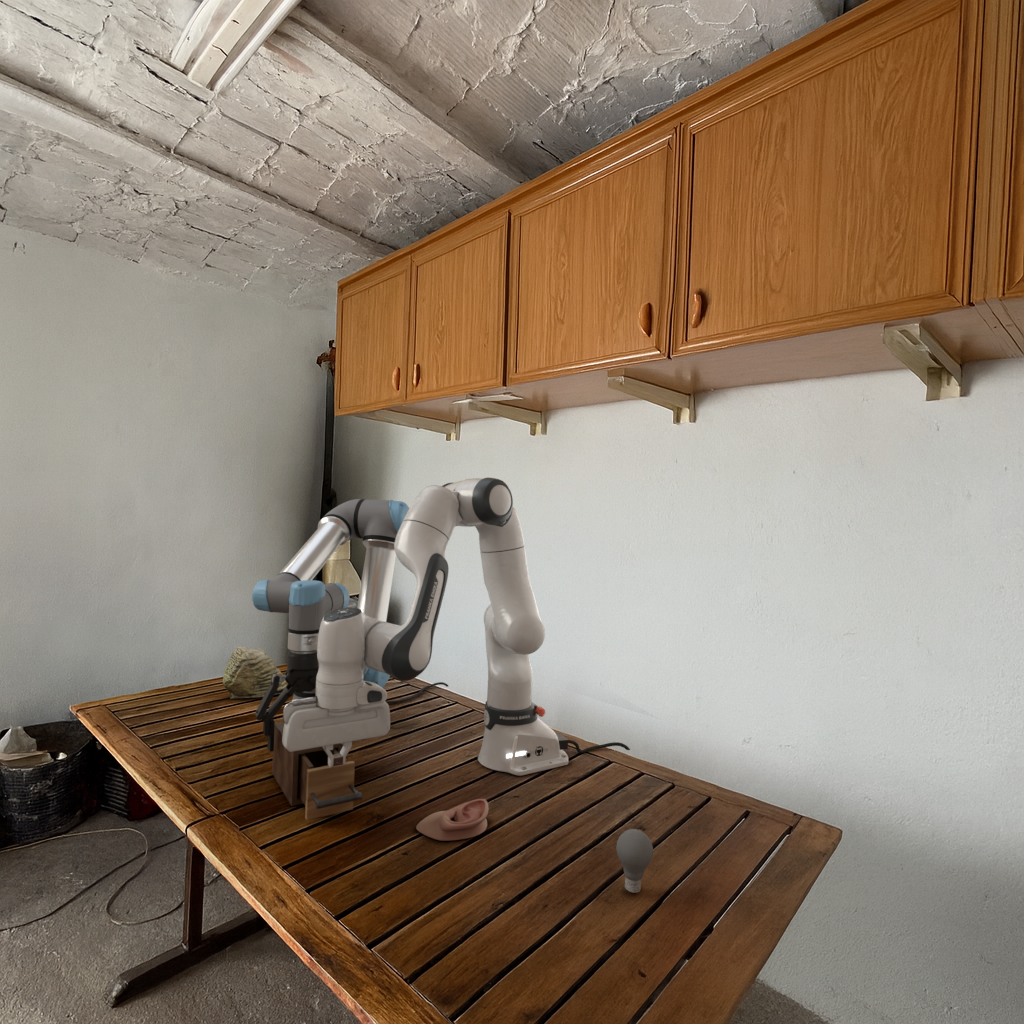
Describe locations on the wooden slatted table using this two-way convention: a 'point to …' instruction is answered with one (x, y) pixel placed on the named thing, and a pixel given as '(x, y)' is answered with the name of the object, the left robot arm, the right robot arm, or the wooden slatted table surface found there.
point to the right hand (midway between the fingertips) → (336, 764)
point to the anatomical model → (456, 821)
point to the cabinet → (289, 765)
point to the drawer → (325, 785)
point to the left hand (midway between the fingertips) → (301, 744)
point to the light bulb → (634, 857)
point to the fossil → (250, 673)
